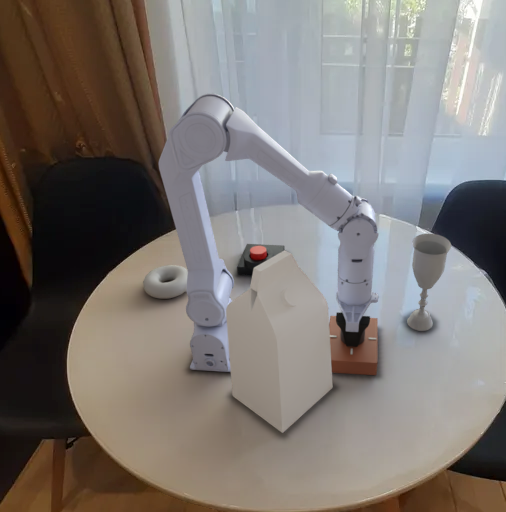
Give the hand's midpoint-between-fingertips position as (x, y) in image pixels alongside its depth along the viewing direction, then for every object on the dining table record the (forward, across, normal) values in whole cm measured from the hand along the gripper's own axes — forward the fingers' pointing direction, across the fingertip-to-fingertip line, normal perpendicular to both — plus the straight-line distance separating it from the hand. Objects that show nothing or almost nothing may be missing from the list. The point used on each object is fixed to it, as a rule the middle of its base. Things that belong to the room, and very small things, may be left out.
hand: (352, 335), depth 87 cm
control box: (+3, +27, +22) cm, 35 cm away
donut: (+4, +16, +40) cm, 43 cm away
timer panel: (+3, 0, 0) cm, 3 cm away
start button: (0, +24, +22) cm, 33 cm away
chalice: (+4, +9, -13) cm, 16 cm away
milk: (+4, -11, +11) cm, 16 cm away
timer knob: (0, 0, 0) cm, 0 cm away
